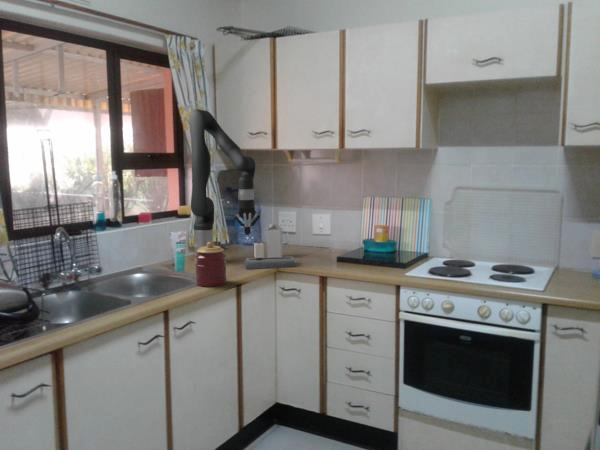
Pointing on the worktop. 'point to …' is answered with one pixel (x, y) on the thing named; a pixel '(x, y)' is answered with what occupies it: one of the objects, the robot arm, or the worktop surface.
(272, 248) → the milk carton
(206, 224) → the robot arm
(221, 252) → the canister
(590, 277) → the worktop surface
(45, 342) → the worktop surface
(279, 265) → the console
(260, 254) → the fader tab
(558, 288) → the worktop surface
